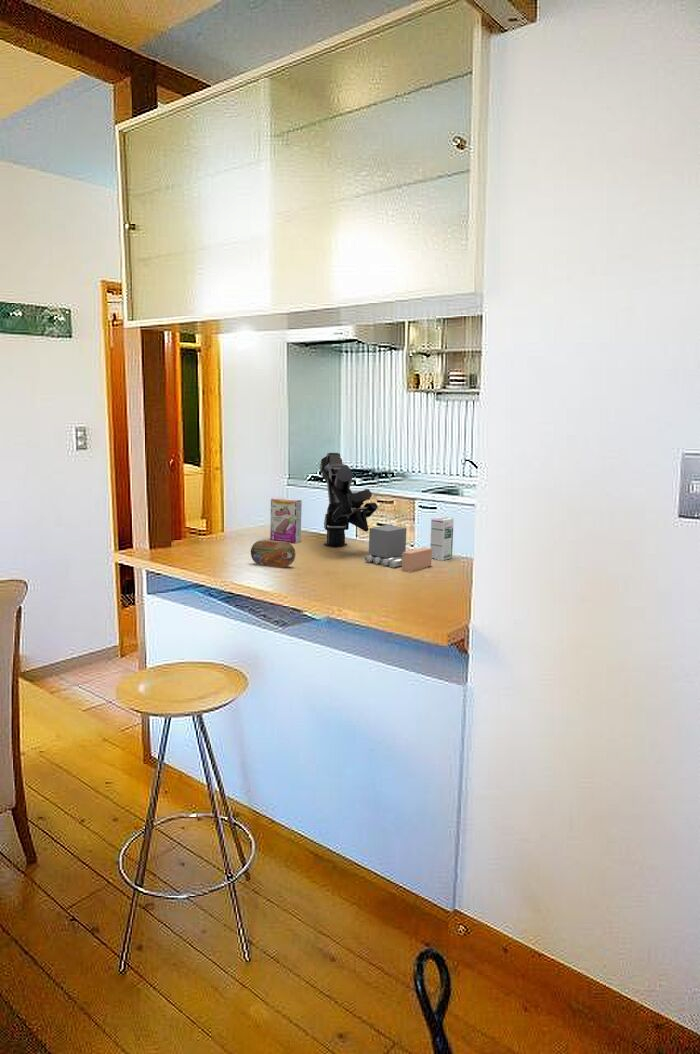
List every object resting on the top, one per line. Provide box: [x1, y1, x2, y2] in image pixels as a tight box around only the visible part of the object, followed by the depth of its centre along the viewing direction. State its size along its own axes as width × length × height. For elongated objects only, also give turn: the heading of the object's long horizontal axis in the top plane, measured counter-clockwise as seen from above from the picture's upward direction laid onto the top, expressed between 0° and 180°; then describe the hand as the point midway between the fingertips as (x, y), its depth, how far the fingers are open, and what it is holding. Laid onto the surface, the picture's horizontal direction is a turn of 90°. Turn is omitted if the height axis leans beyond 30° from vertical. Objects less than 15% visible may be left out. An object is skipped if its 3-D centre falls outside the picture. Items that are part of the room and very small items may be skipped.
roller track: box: [364, 554, 403, 569], centre depth 240 cm, size 13×12×2 cm
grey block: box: [368, 524, 407, 558], centre depth 240 cm, size 8×10×9 cm
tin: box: [250, 539, 296, 568], centre depth 230 cm, size 15×3×8 cm, turn 73°
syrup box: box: [429, 516, 454, 561], centre depth 248 cm, size 6×6×14 cm
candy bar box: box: [269, 497, 303, 544], centre depth 270 cm, size 11×5×16 cm, turn 68°
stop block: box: [401, 547, 433, 573], centre depth 232 cm, size 3×12×6 cm, turn 138°
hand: (367, 530), depth 245 cm, fingers closed
